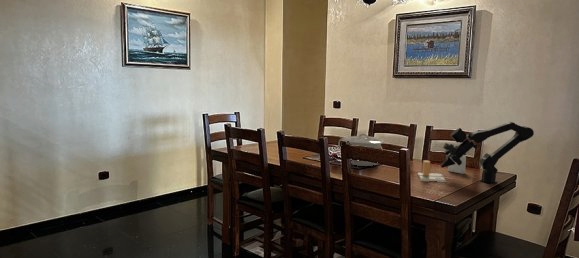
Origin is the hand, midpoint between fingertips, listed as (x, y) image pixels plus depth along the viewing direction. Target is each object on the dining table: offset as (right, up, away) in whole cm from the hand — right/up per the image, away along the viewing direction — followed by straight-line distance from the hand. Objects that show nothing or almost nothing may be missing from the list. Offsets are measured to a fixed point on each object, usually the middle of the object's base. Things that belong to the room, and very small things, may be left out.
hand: (441, 167), depth 228 cm
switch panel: (-5, -7, +2) cm, 9 cm away
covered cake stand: (-39, -2, +35) cm, 52 cm away
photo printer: (+16, -5, +19) cm, 25 cm away
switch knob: (-8, -6, +2) cm, 10 cm away
